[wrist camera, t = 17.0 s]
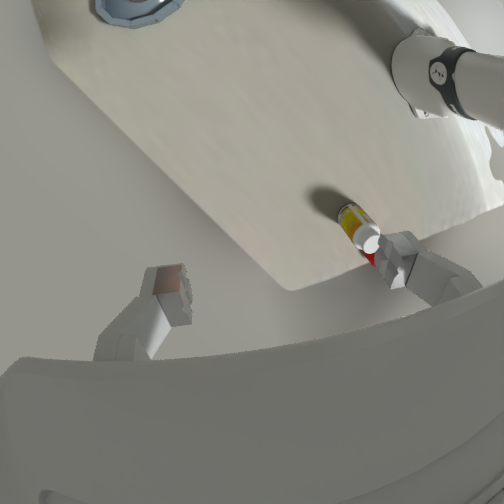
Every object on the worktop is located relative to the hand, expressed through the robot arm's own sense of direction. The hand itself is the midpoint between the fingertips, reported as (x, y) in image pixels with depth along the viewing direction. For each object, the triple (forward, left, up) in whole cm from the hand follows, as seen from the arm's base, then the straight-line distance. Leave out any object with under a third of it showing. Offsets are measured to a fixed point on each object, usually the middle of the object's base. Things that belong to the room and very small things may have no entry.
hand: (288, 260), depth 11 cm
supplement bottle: (-21, +20, -34) cm, 45 cm away
